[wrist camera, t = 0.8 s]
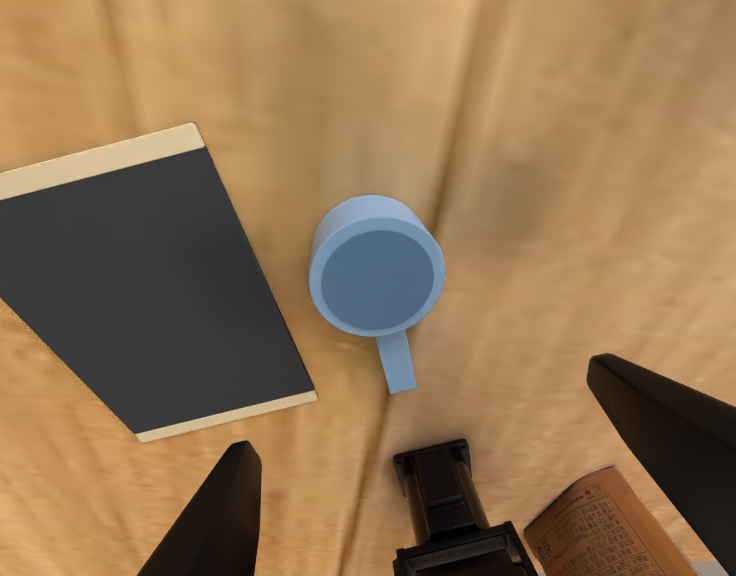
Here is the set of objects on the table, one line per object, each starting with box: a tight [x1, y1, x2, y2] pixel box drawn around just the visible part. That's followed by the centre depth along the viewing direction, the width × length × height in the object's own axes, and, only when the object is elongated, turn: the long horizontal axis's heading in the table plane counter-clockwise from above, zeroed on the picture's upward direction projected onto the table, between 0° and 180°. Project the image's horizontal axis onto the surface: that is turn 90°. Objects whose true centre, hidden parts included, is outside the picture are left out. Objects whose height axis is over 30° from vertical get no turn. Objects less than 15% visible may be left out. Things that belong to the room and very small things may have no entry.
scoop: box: [308, 195, 445, 394], centre depth 18 cm, size 12×6×4 cm, turn 13°
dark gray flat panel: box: [0, 122, 318, 443], centre depth 19 cm, size 18×13×1 cm
